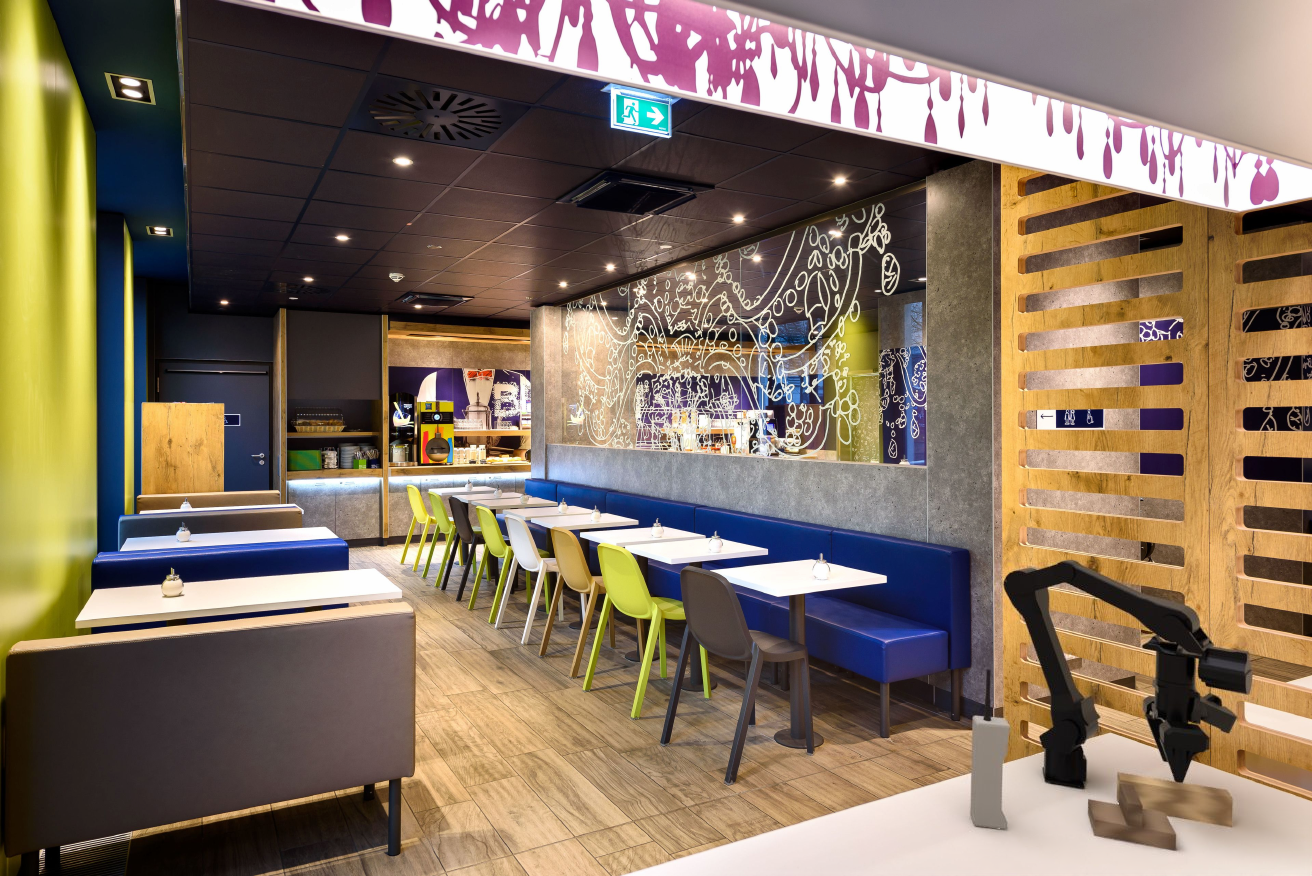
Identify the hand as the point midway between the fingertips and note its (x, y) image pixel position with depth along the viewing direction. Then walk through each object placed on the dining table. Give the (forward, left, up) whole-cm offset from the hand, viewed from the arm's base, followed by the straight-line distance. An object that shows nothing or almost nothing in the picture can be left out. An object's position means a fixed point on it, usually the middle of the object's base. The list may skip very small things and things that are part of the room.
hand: (1172, 771), depth 134 cm
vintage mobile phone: (-29, -18, -7) cm, 35 cm away
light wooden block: (0, 0, -7) cm, 7 cm away
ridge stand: (-8, -11, -7) cm, 15 cm away
